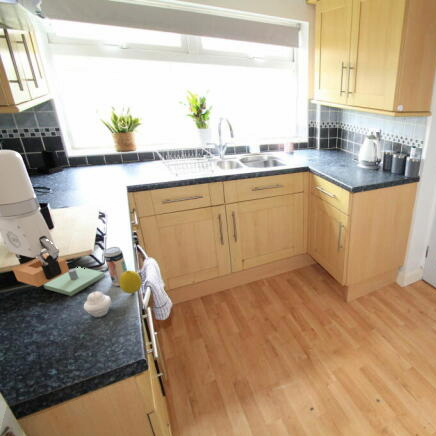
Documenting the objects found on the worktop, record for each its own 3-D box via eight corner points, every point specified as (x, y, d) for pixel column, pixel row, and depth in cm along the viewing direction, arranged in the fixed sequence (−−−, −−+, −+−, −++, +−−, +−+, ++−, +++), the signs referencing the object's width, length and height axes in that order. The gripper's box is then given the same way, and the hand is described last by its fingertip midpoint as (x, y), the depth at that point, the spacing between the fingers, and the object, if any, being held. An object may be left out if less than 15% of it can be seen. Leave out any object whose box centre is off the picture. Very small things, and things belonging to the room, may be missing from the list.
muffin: (84, 313, 88) (76, 293, 85) (109, 303, 92) (103, 283, 90) (91, 324, 84) (84, 303, 82) (117, 312, 89) (111, 292, 86)
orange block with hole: (38, 287, 75) (33, 274, 73) (17, 280, 77) (12, 268, 75) (69, 271, 81) (65, 259, 79) (49, 265, 83) (45, 254, 81)
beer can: (111, 281, 102) (101, 249, 97) (128, 276, 105) (119, 244, 100) (114, 289, 99) (104, 255, 94) (131, 283, 101) (122, 250, 97)
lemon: (147, 292, 98) (141, 269, 94) (128, 301, 93) (122, 278, 90) (138, 285, 100) (132, 263, 97) (119, 294, 96) (112, 272, 93)
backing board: (71, 296, 95) (66, 283, 93) (44, 288, 98) (39, 276, 96) (105, 276, 105) (101, 264, 103) (79, 270, 107) (76, 258, 106)
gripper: (-30, 207, 70) (1, 274, 78) (23, 218, 66) (51, 289, 73) (10, 196, 77) (35, 259, 84) (61, 206, 72) (84, 272, 79)
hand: (43, 272), depth 78 cm, fingers closed on orange block with hole, 7 cm apart
